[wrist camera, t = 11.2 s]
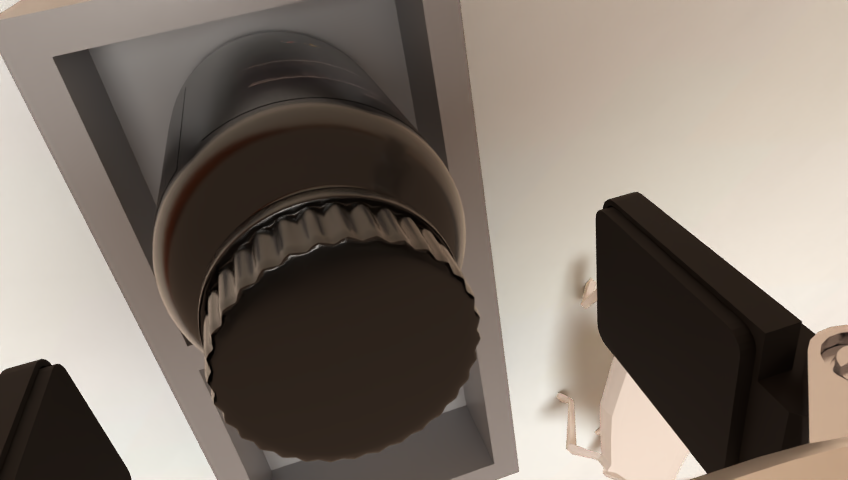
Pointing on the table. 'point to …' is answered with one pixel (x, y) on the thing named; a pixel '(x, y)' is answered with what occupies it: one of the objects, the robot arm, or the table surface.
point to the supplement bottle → (312, 251)
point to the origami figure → (628, 427)
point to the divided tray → (143, 161)
